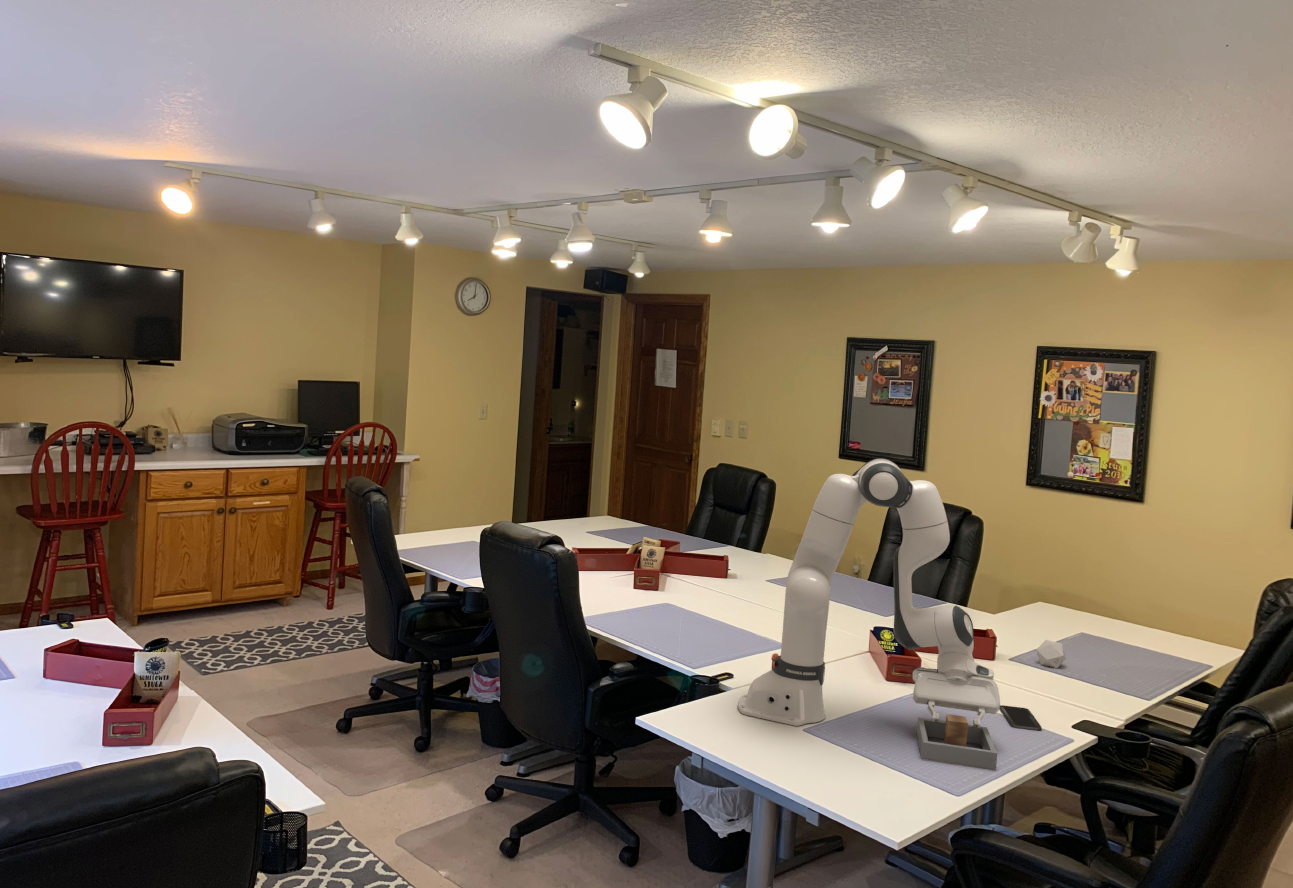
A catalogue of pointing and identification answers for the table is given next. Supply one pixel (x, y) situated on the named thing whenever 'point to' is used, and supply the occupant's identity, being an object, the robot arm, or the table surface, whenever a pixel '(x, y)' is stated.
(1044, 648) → the die
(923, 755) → the box
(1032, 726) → the phone
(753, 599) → the table surface
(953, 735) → the walnut block
